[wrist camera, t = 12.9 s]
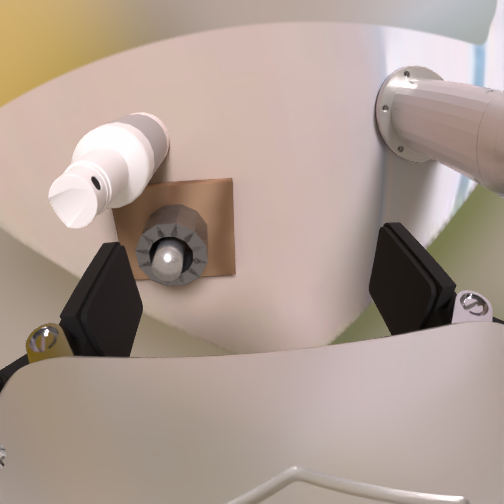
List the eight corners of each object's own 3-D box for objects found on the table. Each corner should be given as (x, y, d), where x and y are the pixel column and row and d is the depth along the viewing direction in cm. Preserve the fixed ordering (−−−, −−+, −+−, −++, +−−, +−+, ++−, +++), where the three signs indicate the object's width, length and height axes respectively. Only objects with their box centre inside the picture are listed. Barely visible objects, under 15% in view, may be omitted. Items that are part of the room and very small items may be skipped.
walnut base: (232, 178, 34) (232, 182, 33) (234, 267, 40) (235, 274, 39) (113, 187, 33) (109, 192, 32) (130, 273, 39) (128, 279, 38)
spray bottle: (181, 151, 32) (148, 221, 16) (131, 181, 33) (69, 270, 17) (151, 100, 28) (83, 119, 13) (101, 133, 29) (9, 187, 14)
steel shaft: (185, 222, 35) (179, 254, 29) (188, 245, 36) (183, 280, 30) (160, 224, 34) (149, 256, 28) (163, 247, 36) (154, 281, 30)
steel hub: (205, 202, 34) (203, 221, 29) (209, 259, 37) (209, 284, 33) (140, 207, 33) (130, 226, 29) (150, 262, 37) (143, 287, 32)
